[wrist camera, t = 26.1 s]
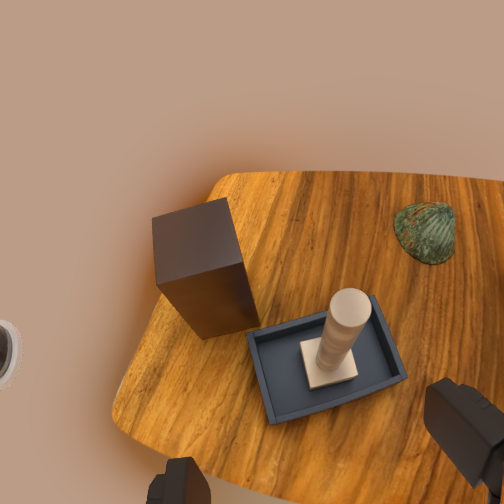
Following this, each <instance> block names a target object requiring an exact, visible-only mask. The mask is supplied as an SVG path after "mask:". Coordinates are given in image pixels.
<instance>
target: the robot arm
mask: <svg viewBox="0 0 504 504" xmlns="http://www.w3.org/2000/svg"><path fill="white" fill-rule="evenodd" d="M11 357H12V339H11V336H10V333H9V332H8V330H7V329H5V328H4V327H2V326H1V325H0V378H1V377H2V376H3V375H4V374H5V373H6V371H7V369H8V367H9V365H10V361H11ZM424 423H425V426H426V429H427V430H428V432H429V433H430V434H431V436H432V437H433V438H434V439H435V441H436V442H437V443H438V444H439V446H440V447H441V448H442V449H443V451H444V452H445V453H446V454H447V456H448V457H449V458H450V459H451V461H452V462H453V463H454V464H455V466H456V467H457V468H458V469H459V471H460V472H461V473H462V475H463V476H464V477H465V478H466V480H467V481H468V482H469V484H470V485H471V486H472V487H473V489H474V488H475V487H477V486H478V485H480V484H481V483H483V482H484V483H485V484H486V486H487V488H486V491H485V499H484V504H504V413H502V412H501V411H500V410H499V409H498V408H497V407H496V406H494V405H493V404H491V402H490V401H489V400H488V399H486V398H484V396H483V395H482V394H481V393H480V392H478V391H477V390H476V389H475V388H472V387H470V386H467V385H464V384H461V385H459V386H457V385H456V384H455V383H454V382H453V381H452V380H451V379H449V378H447V377H446V378H443V379H441V380H439V381H437V382H436V383H434V384H432V385H430V386H428V387H427V388H426V396H425V407H424ZM146 504H211V493H210V488H209V485H208V483H207V481H206V479H205V477H204V476H203V474H202V472H201V471H200V469H199V468H198V466H197V464H196V463H195V461H194V459H193V458H192V457H183V458H174V459H169V460H168V461H167V466H166V472H165V474H158V475H156V477H155V478H154V480H153V481H152V483H151V484H150V486H149V490H148V495H147V501H146Z"/></svg>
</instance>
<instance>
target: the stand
mask: <svg viewBox="0 0 504 504" xmlns="http://www.w3.org/2000/svg"><path fill="white" fill-rule="evenodd" d="M152 231H153V249H154V264H155V278H156V285H157V286H158V288H159V289H160V290H161V291H162V293H163V294H164V295H165V296H166V298H167V299H168V300H169V301H170V303H171V304H172V305H173V306H174V307H175V309H176V310H177V311H178V312H179V314H180V315H181V316H182V317H183V318H184V319H185V321H186V322H187V323H188V324H189V325H190V327H191V328H192V329H193V330H194V331H195V332H196V334H197V335H198V336H199V337H200V338H201V339H202V340H204V339H208V338H212V337H216V336H220V335H225V334H229V333H233V332H236V331H240V330H244V329H248V328H252V327H256V326H259V325H261V324H260V320H259V316H258V313H257V309H256V305H255V302H254V298H253V294H252V291H251V287H250V283H249V279H248V276H247V272H246V268H245V265H244V261H243V257H242V254H241V250H240V246H239V243H238V239H237V235H236V231H235V228H234V224H233V220H232V217H231V213H230V209H229V205H228V202H227V198H226V197H224V198H221V199H217V200H213V201H210V202H206V203H202V204H199V205H196V206H192V207H188V208H185V209H182V210H178V211H174V212H171V213H168V214H164V215H161V216H158V217H154V218H152Z"/></svg>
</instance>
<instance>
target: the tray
mask: <svg viewBox="0 0 504 504" xmlns="http://www.w3.org/2000/svg"><path fill="white" fill-rule="evenodd" d="M368 298H369V300H370V303H371V314H370V317H369V319H368V320H367V322H366V324H365V326H364V327H363V329H362V331H361V332H360V334H359V336H358V337H357V339H356V341H355V342H354V344H353V346H352V347H351V351H352V354H353V358H354V361H355V365H356V369H357V372H358V375H357V376H356V377H355V378H354V379H353V380H352V381H348V382H345V383H341V384H337V385H334V386H330V387H326V388H322V389H318V390H314V391H310V392H309V390H308V385H307V381H306V377H305V372H304V368H303V364H302V359H301V355H300V351H299V348H300V342H302V341H307V340H311V339H315V338H319V337H322V333H323V329H324V325H325V321H326V317H327V314H328V310H326V311H323V312H319V313H316V314H313V315H309V316H306V317H303V318H299V319H296V320H292V321H289V322H285V323H282V324H278V325H275V326H271V327H267V328H264V329H260V330H256V331H253V332H248V333H246V336H247V340H248V344H249V348H250V352H251V356H252V360H253V364H254V367H255V371H256V375H257V379H258V383H259V387H260V391H261V395H262V398H263V402H264V406H265V410H266V413H267V417H268V421H269V425H271V426H273V425H277V424H281V423H285V422H288V421H292V420H296V419H299V418H302V417H306V416H309V415H313V414H316V413H319V412H322V411H325V410H328V409H331V408H334V407H337V406H340V405H343V404H346V403H349V402H352V401H354V400H357V399H360V398H363V397H365V396H368V395H370V394H373V393H376V392H378V391H381V390H383V389H385V388H388V387H390V386H393V385H395V384H397V383H399V382H401V381H403V380H405V379H406V378H408V377H407V374H406V371H405V369H404V366H403V363H402V361H401V358H400V356H399V353H398V350H397V348H396V345H395V343H394V340H393V338H392V335H391V333H390V330H389V328H388V326H387V323H386V321H385V318H384V316H383V314H382V311H381V309H380V307H379V304H378V302H377V300H376V297H375V295H372V296H369V297H368Z"/></svg>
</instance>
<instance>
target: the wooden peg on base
mask: <svg viewBox="0 0 504 504" xmlns="http://www.w3.org/2000/svg"><path fill="white" fill-rule="evenodd" d="M370 314H371V303H370V300H369V298H368V297H367V296H366V294H365V293H363V292H362V291H360V290H358V289H355V288H345V289H342V290H340V291H338V292H337V293H336V294H335V295H334V296H333V297H332V299H331V302H330V305H329V310H328V314H327V317H326V321H325V325H324V329H323V333H322V337H319V338H315V339H311V340H307V341H302V342H300V348H299V351H300V355H301V359H302V364H303V368H304V372H305V377H306V381H307V385H308V390H309V392H310V391H314V390H318V389H322V388H326V387H330V386H334V385H337V384H341V383H345V382H348V381H352V380H353V379H354V378H355V377H356V376H357V375H358V372H357V369H356V365H355V361H354V358H353V354H352V351H351V347H352V346H353V344H354V342H355V341H356V339H357V337H358V336H359V334H360V332H361V331H362V329H363V327H364V326H365V324H366V322H367V320H368V319H369V317H370Z"/></svg>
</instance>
